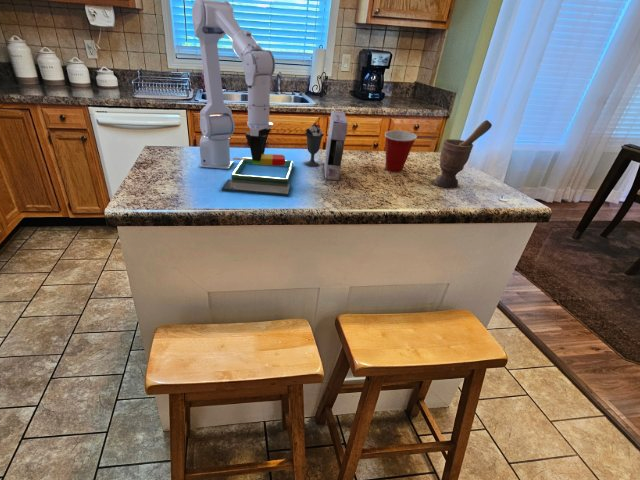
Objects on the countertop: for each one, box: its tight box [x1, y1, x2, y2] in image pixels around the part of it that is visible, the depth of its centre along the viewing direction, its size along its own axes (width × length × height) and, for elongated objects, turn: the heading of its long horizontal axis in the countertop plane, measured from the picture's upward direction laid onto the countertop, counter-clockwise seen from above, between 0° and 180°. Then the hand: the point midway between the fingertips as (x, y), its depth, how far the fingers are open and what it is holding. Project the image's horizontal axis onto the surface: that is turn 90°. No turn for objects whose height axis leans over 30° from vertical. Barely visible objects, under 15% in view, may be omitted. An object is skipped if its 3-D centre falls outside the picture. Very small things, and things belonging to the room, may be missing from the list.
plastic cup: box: [384, 129, 418, 173], centre depth 132 cm, size 11×11×12 cm
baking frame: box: [231, 156, 294, 184], centre depth 124 cm, size 17×20×2 cm
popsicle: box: [232, 153, 286, 167], centre depth 109 cm, size 6×15×2 cm, turn 93°
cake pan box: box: [323, 109, 349, 181], centre depth 124 cm, size 19×5×18 cm, turn 176°
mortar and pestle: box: [433, 119, 493, 189], centre depth 119 cm, size 12×9×20 cm
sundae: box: [304, 117, 325, 167], centre depth 131 cm, size 7×7×15 cm
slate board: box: [221, 179, 291, 197], centre depth 112 cm, size 19×8×1 cm, turn 85°
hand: (258, 157), depth 109 cm, fingers closed on popsicle, 6 cm apart
